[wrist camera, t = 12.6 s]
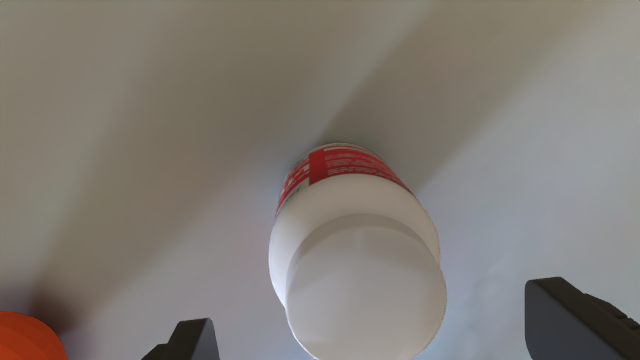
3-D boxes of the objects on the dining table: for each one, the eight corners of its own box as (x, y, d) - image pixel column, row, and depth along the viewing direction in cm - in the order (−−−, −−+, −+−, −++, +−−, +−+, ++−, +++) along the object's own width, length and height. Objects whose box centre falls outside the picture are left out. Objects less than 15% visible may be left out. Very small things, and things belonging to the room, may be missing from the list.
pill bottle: (291, 130, 22) (279, 180, 11) (406, 152, 22) (500, 221, 12) (271, 242, 23) (242, 382, 13) (380, 260, 24) (442, 411, 13)
